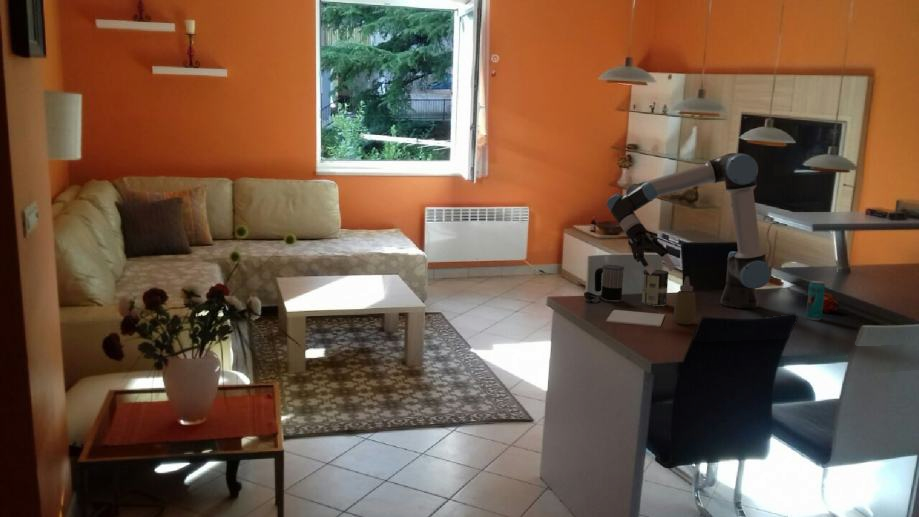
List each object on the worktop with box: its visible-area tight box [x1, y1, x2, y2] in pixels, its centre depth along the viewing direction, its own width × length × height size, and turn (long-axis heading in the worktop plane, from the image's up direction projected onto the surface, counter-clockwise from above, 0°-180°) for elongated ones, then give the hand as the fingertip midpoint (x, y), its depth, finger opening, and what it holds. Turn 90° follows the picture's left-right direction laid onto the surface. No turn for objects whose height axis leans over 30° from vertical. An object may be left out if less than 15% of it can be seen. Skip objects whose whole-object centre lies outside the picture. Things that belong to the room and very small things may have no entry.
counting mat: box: [605, 309, 666, 328], centre depth 313 cm, size 20×20×1 cm
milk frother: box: [583, 264, 625, 301], centre depth 344 cm, size 14×16×15 cm
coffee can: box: [641, 269, 670, 307], centre depth 340 cm, size 10×10×14 cm
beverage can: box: [806, 280, 826, 321], centre depth 319 cm, size 6×6×15 cm
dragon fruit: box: [823, 291, 840, 313], centre depth 334 cm, size 8×8×12 cm
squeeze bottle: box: [673, 276, 697, 326], centre depth 306 cm, size 8×8×18 cm
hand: (663, 270), depth 313 cm, fingers open, 13 cm apart
